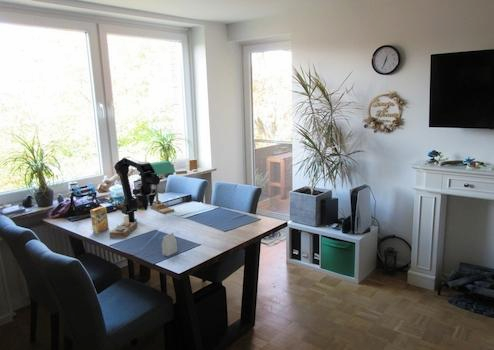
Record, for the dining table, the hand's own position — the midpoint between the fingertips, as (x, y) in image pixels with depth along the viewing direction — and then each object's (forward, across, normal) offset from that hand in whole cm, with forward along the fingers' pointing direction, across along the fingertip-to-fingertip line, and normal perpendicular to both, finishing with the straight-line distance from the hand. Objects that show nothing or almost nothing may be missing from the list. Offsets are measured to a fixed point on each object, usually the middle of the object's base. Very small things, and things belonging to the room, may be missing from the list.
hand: (148, 207), depth 241 cm
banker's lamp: (+13, -37, -4) cm, 39 cm away
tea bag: (+13, +41, +25) cm, 50 cm away
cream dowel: (+12, +8, -12) cm, 18 cm away
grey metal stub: (+12, +16, -12) cm, 23 cm away
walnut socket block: (+12, +12, -12) cm, 21 cm away
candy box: (+13, +9, -28) cm, 32 cm away
